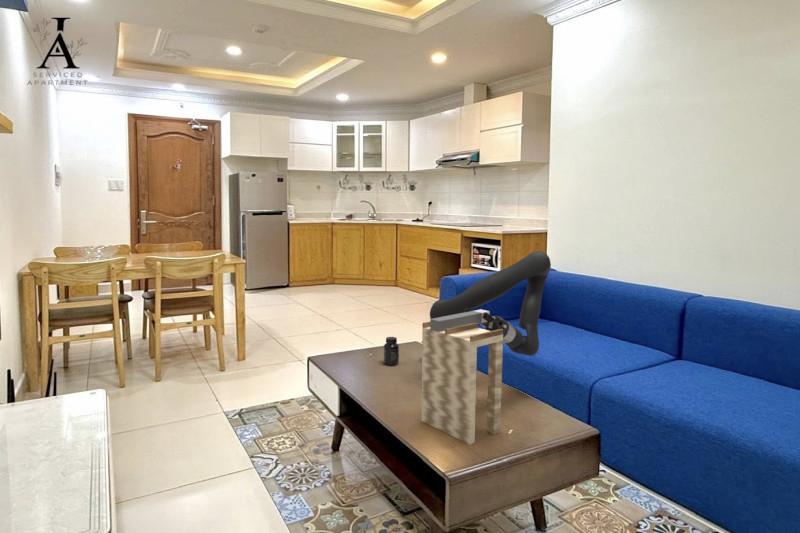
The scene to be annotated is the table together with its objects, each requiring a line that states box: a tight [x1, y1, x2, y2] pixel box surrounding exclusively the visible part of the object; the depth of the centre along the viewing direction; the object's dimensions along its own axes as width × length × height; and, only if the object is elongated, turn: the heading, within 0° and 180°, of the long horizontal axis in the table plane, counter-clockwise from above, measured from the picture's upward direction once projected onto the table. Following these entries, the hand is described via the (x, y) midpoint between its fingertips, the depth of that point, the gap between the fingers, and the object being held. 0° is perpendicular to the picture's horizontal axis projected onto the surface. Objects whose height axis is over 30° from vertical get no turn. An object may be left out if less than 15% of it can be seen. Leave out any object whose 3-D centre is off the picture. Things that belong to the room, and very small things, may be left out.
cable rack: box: [420, 321, 504, 445], centre depth 168 cm, size 22×14×34 cm, turn 39°
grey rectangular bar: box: [429, 308, 491, 332], centre depth 173 cm, size 4×24×4 cm, turn 129°
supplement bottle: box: [383, 336, 400, 367], centre depth 234 cm, size 7×7×12 cm
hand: (474, 312), depth 177 cm, fingers open, 8 cm apart
